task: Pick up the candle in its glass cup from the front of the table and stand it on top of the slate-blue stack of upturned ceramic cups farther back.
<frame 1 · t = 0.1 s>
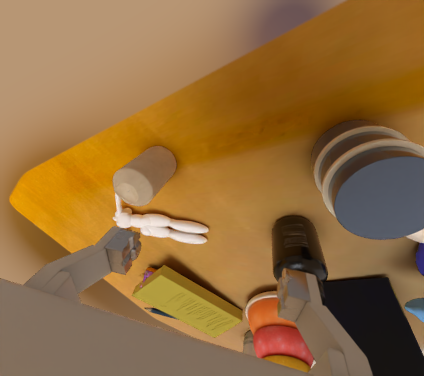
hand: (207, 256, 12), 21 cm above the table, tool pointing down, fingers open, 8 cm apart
supplement bottle: (293, 230, 36), on the table
pencil: (197, 322, 56), on the table, touching toy car
flat olive board: (146, 280, 45), point 4 cm above the table, touching toy car
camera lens: (257, 335, 54), on the table
toy car: (157, 281, 51), on the table, touching flat olive board, pencil
stacking toy: (279, 306, 46), on the table
decorative figure: (163, 221, 41), on the table
cup stack: (348, 155, 28), on the table
candle: (161, 161, 35), on the table
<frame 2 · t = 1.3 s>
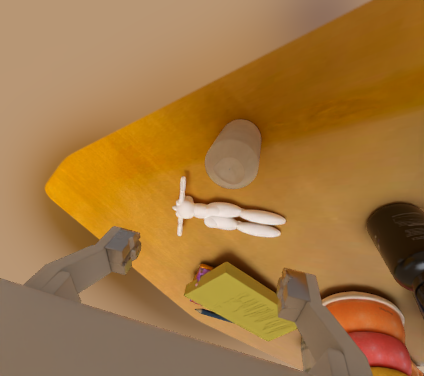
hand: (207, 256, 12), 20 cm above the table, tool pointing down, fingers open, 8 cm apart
supplement bottle: (393, 221, 30), on the table
pencil: (247, 324, 51), on the table, touching toy car
flat olive board: (203, 279, 39), point 4 cm above the table, touching toy car
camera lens: (314, 339, 49), on the table
toy car: (207, 280, 46), on the table, touching flat olive board, pencil
figurine: (377, 370, 48), point 1 cm above the table
stacking toy: (352, 308, 41), on the table
decorative figure: (228, 211, 36), on the table
candle: (240, 139, 29), on the table
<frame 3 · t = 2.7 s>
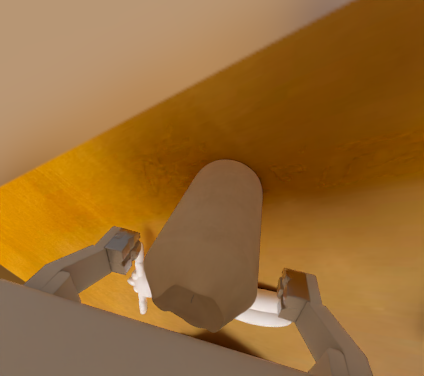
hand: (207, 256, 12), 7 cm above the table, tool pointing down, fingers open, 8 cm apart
decorative figure: (213, 282, 24), on the table
candle: (228, 189, 17), on the table
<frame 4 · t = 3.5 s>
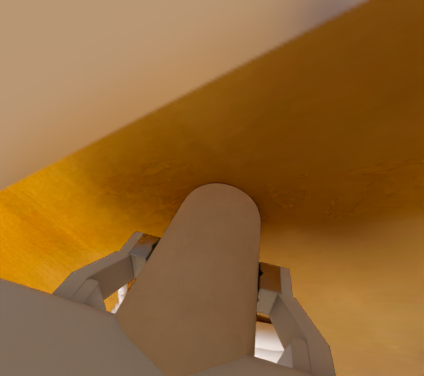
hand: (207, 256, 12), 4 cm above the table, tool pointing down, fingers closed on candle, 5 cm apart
decorative figure: (207, 312, 22), on the table
candle: (221, 215, 15), on the table, touching gripper
when the fingers open (15 cm above the table, at t = 11.2 s): candle stays where it is, resting on cup stack.
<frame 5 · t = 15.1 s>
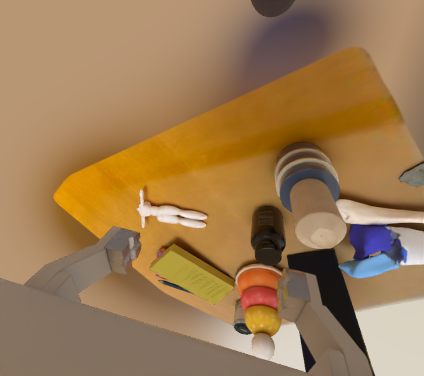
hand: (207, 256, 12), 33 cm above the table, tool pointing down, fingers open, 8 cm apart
supplement bottle: (267, 216, 50), on the table
pencil: (199, 294, 70), on the table, touching toy car
flat olive board: (160, 256, 59), point 4 cm above the table, touching toy car
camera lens: (246, 303, 68), on the table
toy car: (167, 260, 66), on the table, touching flat olive board, pencil
blue white plush toy: (389, 226, 44), on the table
stacking toy: (262, 277, 60), on the table
decorative box: (326, 325, 41), point 15 cm above the table, touching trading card
decorative figure: (174, 211, 55), on the table
cup stack: (299, 164, 42), on the table
candle: (308, 193, 33), point 11 cm above the table, touching cup stack
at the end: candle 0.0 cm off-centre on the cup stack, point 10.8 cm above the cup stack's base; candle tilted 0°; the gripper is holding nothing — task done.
